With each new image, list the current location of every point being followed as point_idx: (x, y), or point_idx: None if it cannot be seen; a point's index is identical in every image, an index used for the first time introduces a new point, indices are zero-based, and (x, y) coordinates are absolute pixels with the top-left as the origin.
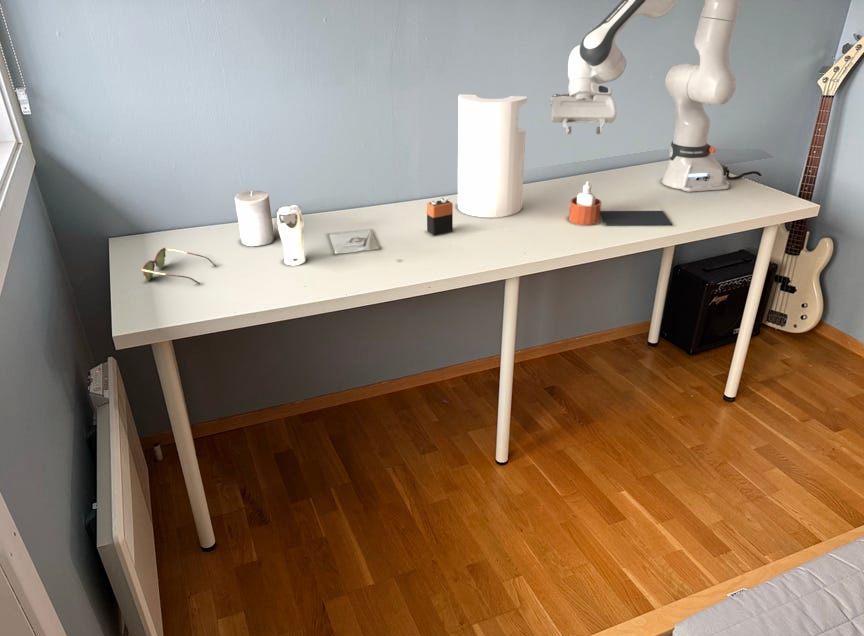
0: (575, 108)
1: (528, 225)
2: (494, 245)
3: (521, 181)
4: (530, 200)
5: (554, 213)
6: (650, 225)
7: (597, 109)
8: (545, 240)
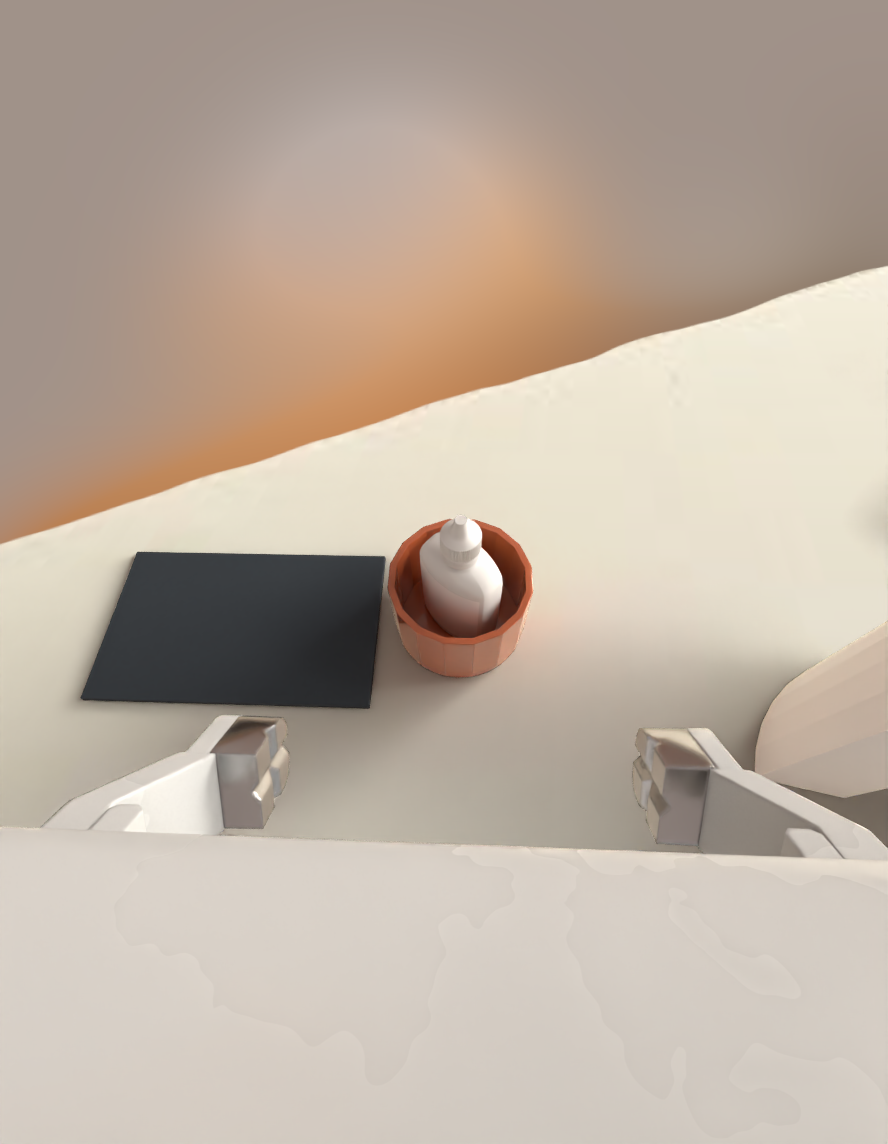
0: (770, 1092)
1: (689, 568)
2: (777, 422)
3: (850, 701)
4: None
5: (583, 699)
6: (218, 555)
7: (10, 1004)
8: (617, 450)
